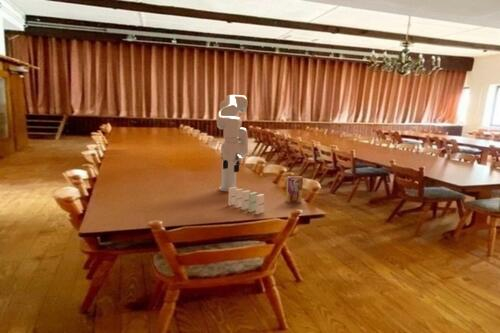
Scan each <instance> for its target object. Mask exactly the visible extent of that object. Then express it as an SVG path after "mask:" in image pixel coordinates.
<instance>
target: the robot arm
mask: <svg viewBox="0 0 500 333" xmlns="http://www.w3.org/2000/svg"><path fill="white" fill-rule="evenodd" d="M248 104H249V103H248V98H247V97H246V96H245V95H244V94H243V95H241V94H228V95H227V96H225V98H224V100H222V101H220V104H219V108H220V109H219V110H218V112H217V114H216V127H217V128H218V129H219V130H223V139H224V142H223V143H222V144H221V146H220V157H221V185H220V186H219V187H218V190H219V191H221V192H228V193H229V188H232V187H237V186H236V185H237V173H238V172H240V165H241V164H242V161H243V158H246V157H247V156H248V154H249V146H248V145H249V139H248V137H249V136H248V134H249V133H248V129H247V128H246V127H242V124H243V121H242V119H241V117H240V116H238V114H245V113H246V112H247V108H248ZM237 189H239V187H237Z"/></svg>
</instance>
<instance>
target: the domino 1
mask: <svg viewBox="0 0 500 333" xmlns="http://www.w3.org/2000/svg"><path fill="white" fill-rule="evenodd" d="M235 190H237V186H236V187H232V188H229V192H228V195H227V196H228V199H227V203H228V204H227V206H229V207H230V206H231V205H232V206H235ZM232 206H231V207H232Z"/></svg>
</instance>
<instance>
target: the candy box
mask: <svg viewBox="0 0 500 333" xmlns="http://www.w3.org/2000/svg"><path fill="white" fill-rule="evenodd" d="M303 180H304V177H303V176H301V175H300V176H299V175H298V176H296V175H287V177H286V189H285V190H286V191H285V192H286V193H285V201H286V202H287V203H302V200H303V198H302V197H303Z"/></svg>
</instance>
